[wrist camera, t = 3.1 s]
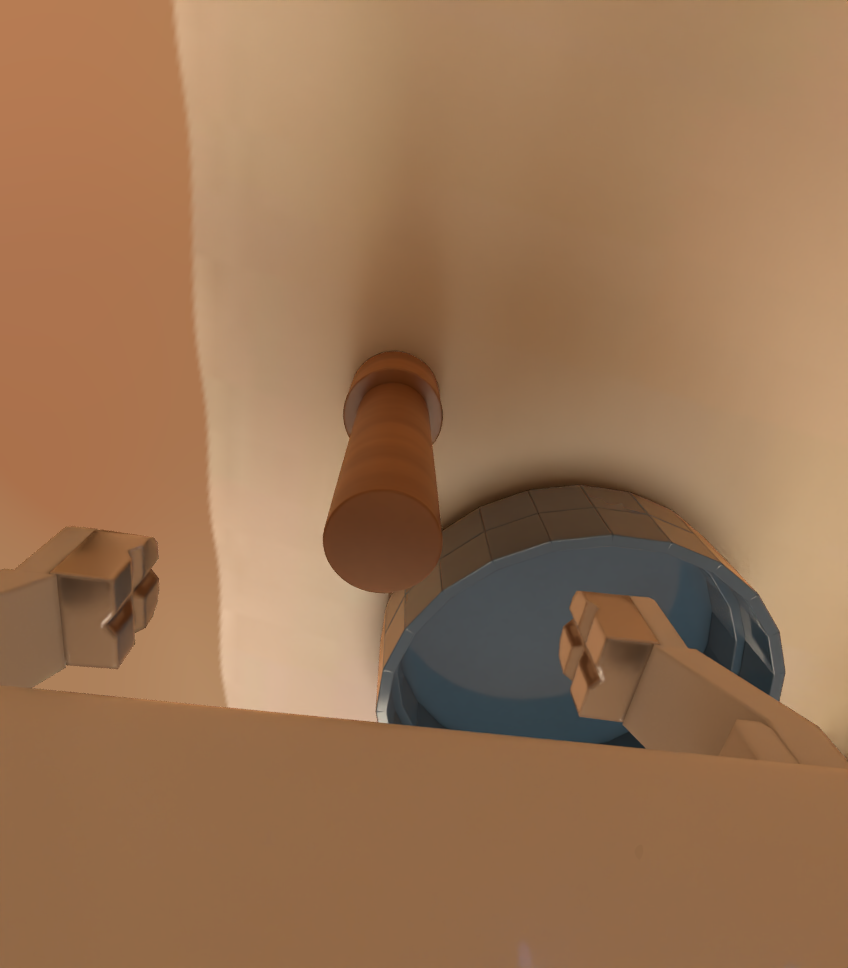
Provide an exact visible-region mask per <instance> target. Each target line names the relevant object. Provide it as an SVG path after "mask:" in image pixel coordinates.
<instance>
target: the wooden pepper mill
mask: <svg viewBox="0 0 848 968" xmlns="http://www.w3.org/2000/svg"><path fill="white" fill-rule="evenodd" d="M343 419H344V425H345V429H346V431H347V434H348V436H349V442H348V445H347V449H346V453H345V456H344V460H343V463H342V467H341V471H340V474H339V478H338V481H337V485H336V488H335V492H334V496H333V499H332V503H331V506H330V510H329V513H328V517H327V521H326V524H325V528H324V533H323V547H324V551H325V555H326V557H327V560H328V562H329V564H330V565H331V567H332V568H333V570H334V571H335V572H336V573H337V574H338V575H339V576H340V577H341V578H342V579H343V580H345V581H346V582H347V583H349V584H351V585H353V586H354V587H357V588H359V589H362V590H365V591H369V592H375V593H392V592H398V591H402V590H405V589H408V588H410V587H412V586H414V585H416V584H418V583H419V582H421V581H422V580H424V579H425V578H426V577H427V576H428V575H429V574H430V573H431V571H432V570H433V569H434V568H435V566H436V564H437V563H438V560H439V558H440V555H441V552H442V545H443V536H442V527H441V518H440V509H439V500H438V491H437V482H436V473H435V464H434V455H433V446H432V445H433V444H434V442H435V441H436V439H437V437H438V435H439V433H440V430H441V426H442V420H443V411H442V405H441V400H440V394H439V389H438V384H437V381H436V378H435V376H434V374H433V373H432V371H431V370H430V368H429V367H428V366H427V365H426V364H425V363H424V362H423V361H421V360H420V359H419V358H417V357H415V356H413V355H411V354H408V353H404V352H398V351H389V352H384V353H380V354H377V355H375V356H373V357H371V358H370V359H368V360H367V361H366V362H365V363H363V365H362V366H361V367H360V368H359V369H358V371H357V372H356V374H355V376H354V378H353V381H352V384H351V387H350V389H349V392H348V395H347V398H346V401H345V404H344V409H343Z"/></svg>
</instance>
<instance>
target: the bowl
mask: <svg viewBox="0 0 848 968" xmlns="http://www.w3.org/2000/svg"><path fill="white" fill-rule="evenodd" d="M442 536H443V545H442V552H441V555H440V558H439V560H438V563H437V564H436V566H435V568H434V569H433V570H432V571H431V573H430V574H429V575H428V576H427V577H426V578H425V579H424V580H422V581H421V582H419V583H418V584H416V585H414V586H412V587H410V588H408V589H405V590H402V591H398V592H393V593H392V595H391V597H390V599H389V601H388V603H387V606H386V610H385V616H384V622H383V628H382V634H381V640H380V654H379V669H378V683H377V698H376V716H377V721H378V722H379V723H389V724H400V725H410V726H420V727H430V728H440V729H450V730H460V731H470V732H481V733H491V734H501V735H511V736H521V737H531V738H542V739H552V740H562V741H572V742H582V743H592V744H603V745H613V746H623V747H633V748H643V749H646V748H645V747H644V746H643V745H642V744H641V743H640V742H639V741H638V740H637V739H636V738H635V737H634V736H633V735H632V734H631V733H630V732H629V731H628V730H627V729H626V728H625V727H624V726H623V725H622V724H623V722H615V721H608V720H600V719H592V718H585V717H579V715H578V712H577V710H576V707H575V704H574V702H573V699H572V696H571V694H570V691H569V690H570V687H571V684H572V681H571V680H570V679H569V678H568V677H566V676H565V675H564V674H563V672H562V669H561V666H560V661H559V640H560V636H561V633H562V629H563V626H564V625H566V624H567V623H568V622H569V621H571V620H572V619H573V616H572V614H571V612H570V609H569V607H570V604H571V601H572V598H573V596H574V594H575V593H576V591H586V592H596V593H606V594H616V595H627V596H639V597H649V598H651V599H653V600H655V602H656V603H657V604H658V606H659V607H660V609H661V610H662V612H663V613H664V614H665V616H666V617H667V619H668V620H669V622H670V623H671V624H672V626H673V627H674V629H675V630H676V631H677V633H678V634H679V636H680V637H681V639H682V640H683V641H684V643H685V644H686V646H687V647H688V648H689V649H696V650H698V651H699V652H701V653H703V654H704V655H706V656H707V657H709V658H711V659H712V660H714V661H715V662H717V663H718V664H720V665H722V666H723V667H725V668H726V669H728V670H730V671H731V672H733V673H734V674H736V675H737V676H739V677H741V678H742V679H744V680H745V681H747V682H749V683H750V684H752V685H753V686H755V687H757V688H758V689H760V690H761V691H763V692H764V693H766V694H768V695H769V696H771V697H772V698H774V699H776V700H777V701H780V696H781V691H782V687H783V682H784V677H785V665H784V658H783V652H782V645H781V638H780V632H779V629H778V628H777V626H776V624H775V622H774V621H773V619H772V617H771V615H770V613H769V612H768V610H767V608H766V606H765V605H764V603H763V601H762V599H761V598H760V596H759V594H758V593H757V592H756V591H755V590H754V589H753V588H752V587H751V586H750V585H749V584H748V583H747V582H746V580H745V579H744V578H743V577H742V576H741V575H740V574H739V573H738V572H737V571H736V570H735V569H734V568H733V567H732V566H731V565H730V564H729V563H728V562H727V561H726V560H725V559H724V558H723V556H722V555H721V554H720V553H719V552H718V551H717V550H716V549H715V548H714V547H713V546H712V545H711V544H710V543H709V542H708V541H707V540H706V539H705V538H704V537H703V536H702V535H701V534H700V533H699V532H697V531H696V530H695V529H694V528H693V527H692V526H690V525H689V524H688V523H687V522H686V521H685V520H683V519H682V518H681V517H680V516H679V515H677V514H676V513H675V512H674V511H672V510H671V509H668V508H666V507H664V506H661V505H659V504H657V503H654V502H652V501H650V500H647V499H645V498H643V497H640V496H638V495H636V494H633V493H631V492H626V491H619V490H612V489H605V488H598V487H591V486H584V485H573V486H563V487H553V488H543V489H534V490H528V491H524V492H521V493H518V494H515V495H513V496H510V497H507V498H504V499H501V500H498V501H495V502H492V503H489V504H487V505H484V506H481V507H479V508H477V509H475V510H474V511H472V512H471V513H469V514H468V515H466V516H464V517H463V518H461V519H460V520H458V521H457V522H455V523H453V524H452V525H450V526H449V527H447V528H446V529H444V530H443V531H442Z"/></svg>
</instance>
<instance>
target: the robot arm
mask: <svg viewBox="0 0 848 968" xmlns="http://www.w3.org/2000/svg"><path fill="white" fill-rule="evenodd" d="M158 559H159V555H158V542H157V541H156V540H155V538H154V537H149V536H142V535H135V534H128V533H121V532H114V531H106V530H98V529H95V528H86V527H76V526H68V527H65V528H64V529H62V530H61V531H60V532H59V533H57V534H56V535H55V536H54V537H53V538H51V539H50V540H49V541H48V542H47V543H46V544H44V545H43V546H42V547H41V548H40V549H38V550H37V551H36V552H35V553H34V554H32V555H31V556H30V557H29V558H28V559H26V560H25V561H24V562H23V563H22V564H20V565H19V566H18V567H17V568H16V569H15V570H13V569H2V570H0V968H848V761H847V759H846V758H845V757H844V756H843V755H842V754H841V752H840V751H839V750H838V749H837V748H836V746H835V745H834V744H833V743H832V742H831V741H830V739H829V738H828V737H827V736H826V735H825V734H824V732H823V731H822V730H821V729H820V728H819V727H818V726H817V725H815V724H814V723H812V722H810V721H809V720H807V719H806V718H804V717H803V716H801V715H799V714H798V713H796V712H795V711H793V710H791V709H790V708H788V707H787V706H785V705H783V704H782V703H780V702H779V701H777V700H776V699H774V698H772V697H771V696H769V695H768V694H766V693H764V692H763V691H761V690H760V689H758V688H757V687H755V686H753V685H752V684H750V683H749V682H747V681H745V680H744V679H742V678H741V677H739V676H737V675H736V674H734V673H733V672H731V671H730V670H728V669H726V668H725V667H723V666H722V665H720V664H718V663H717V662H715V661H714V660H712V659H711V658H709V657H707V656H706V655H704V654H703V653H701V652H699V651H698V650H696V649H689V648H688V647H687V646H686V644H685V643H684V641H683V640H682V639H681V637H680V636H679V634H678V633H677V631H676V630H675V629H674V627H673V626H672V624H671V623H670V622H669V620H668V619H667V617H666V616H665V614H664V613H663V612H662V610H661V609H660V607H659V606H658V604H657V603H656V602H655V600H653V599H651V598H649V597H639V596H627V595H616V594H606V593H596V592H586V591H576V593H575V594H574V596H573V598H572V601H571V604H570V607H569V609H570V612H571V614H572V616H573V619H572V620H571V621H569V622H568V623H567V624H566V625H564V626H563V629H562V633H561V636H560V640H559V661H560V666H561V669H562V672H563V674H564V675H565V676H566V677H568V678H569V679H570V680H571V681H572V684H571V687H570V690H569V691H570V694H571V696H572V699H573V702H574V704H575V707H576V710H577V712H578V715H579V717H585V718H592V719H600V720H608V721H615V722H623V724H622V725H623V726H624V727H625V728H626V729H627V730H628V731H629V732H630V733H631V734H632V735H633V736H634V737H635V738H636V739H637V740H638V741H639V742H640V743H641V744H642V745H643V746H644V747H645V748H646V749H643V748H633V747H623V746H613V745H603V744H592V743H582V742H572V741H562V740H552V739H542V738H531V737H521V736H511V735H501V734H491V733H481V732H470V731H460V730H450V729H440V728H430V727H420V726H410V725H400V724H389V723H379V722H369V721H359V720H349V719H339V718H329V717H319V716H308V715H298V714H288V713H278V712H268V711H258V710H248V709H238V708H228V707H217V706H206V705H197V704H187V703H177V702H167V701H157V700H147V699H136V698H126V697H115V696H105V695H95V694H86V693H75V692H66V691H56V690H44V689H35V688H33V687H35V686H36V685H38V684H39V683H41V682H43V681H44V680H46V679H47V678H49V677H51V676H53V675H54V674H56V673H58V672H59V671H61V670H62V669H64V668H66V665H70V666H84V667H96V668H109V669H118V668H119V667H120V665H121V664H122V662H123V661H124V659H125V658H126V656H127V655H128V653H129V652H130V650H131V649H132V647H133V646H134V645H135V633H136V632H138V631H140V630H142V629H144V628H146V626H147V625H148V623H149V622H150V620H151V618H152V617H153V614H154V611H155V608H156V605H157V602H158V594H159V578H158V577H157V575H156V574H155V573H154V572H153V570H152V569H151V568H152V566H153V565H154V564H155V563H156V561H157V560H158Z"/></svg>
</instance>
